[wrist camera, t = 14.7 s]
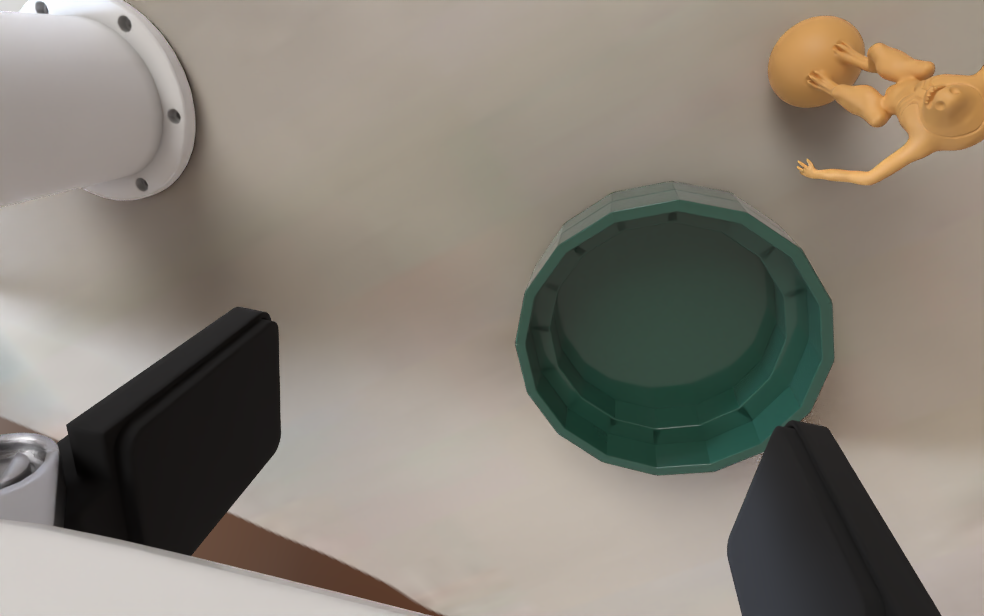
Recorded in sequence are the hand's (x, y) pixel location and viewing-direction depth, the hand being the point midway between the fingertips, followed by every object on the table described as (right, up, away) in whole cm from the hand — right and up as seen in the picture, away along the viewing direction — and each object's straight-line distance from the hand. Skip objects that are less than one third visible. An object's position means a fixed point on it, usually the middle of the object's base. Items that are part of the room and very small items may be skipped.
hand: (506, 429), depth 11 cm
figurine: (+16, +14, +18) cm, 28 cm away
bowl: (+10, +2, +25) cm, 27 cm away
